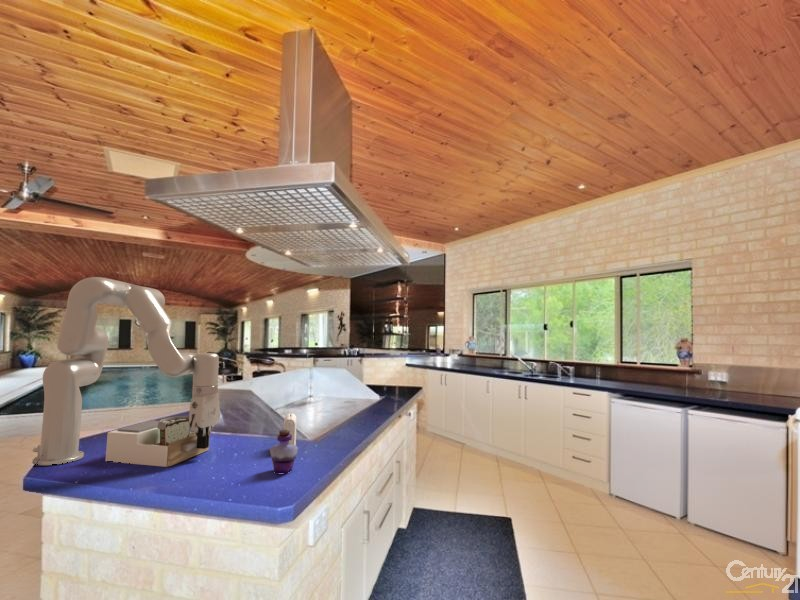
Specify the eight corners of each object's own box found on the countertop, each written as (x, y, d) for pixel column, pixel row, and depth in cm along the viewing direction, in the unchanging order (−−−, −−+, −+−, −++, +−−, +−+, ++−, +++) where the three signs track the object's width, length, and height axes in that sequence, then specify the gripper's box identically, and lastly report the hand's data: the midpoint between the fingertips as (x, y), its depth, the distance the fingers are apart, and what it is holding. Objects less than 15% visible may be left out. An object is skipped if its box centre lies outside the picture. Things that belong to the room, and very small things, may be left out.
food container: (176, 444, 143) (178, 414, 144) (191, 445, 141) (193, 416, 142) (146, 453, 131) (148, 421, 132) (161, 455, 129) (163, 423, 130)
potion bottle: (288, 465, 130) (289, 426, 131) (303, 471, 124) (304, 431, 125) (262, 471, 124) (264, 430, 125) (277, 478, 118) (278, 435, 119)
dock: (205, 450, 144) (207, 422, 145) (166, 466, 126) (168, 434, 127) (150, 446, 148) (152, 418, 149) (105, 461, 130) (107, 430, 131)
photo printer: (294, 452, 143) (296, 416, 144) (281, 453, 142) (283, 416, 143) (296, 444, 153) (297, 411, 154) (284, 445, 152) (285, 411, 153)
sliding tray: (215, 450, 143) (216, 430, 144) (177, 466, 125) (178, 444, 126) (179, 447, 146) (180, 428, 146) (136, 463, 128) (138, 441, 128)
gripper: (200, 394, 128) (197, 455, 126) (228, 388, 142) (226, 442, 141) (178, 393, 129) (176, 453, 127) (209, 387, 144) (207, 441, 142)
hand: (202, 447), depth 134 cm, fingers closed
